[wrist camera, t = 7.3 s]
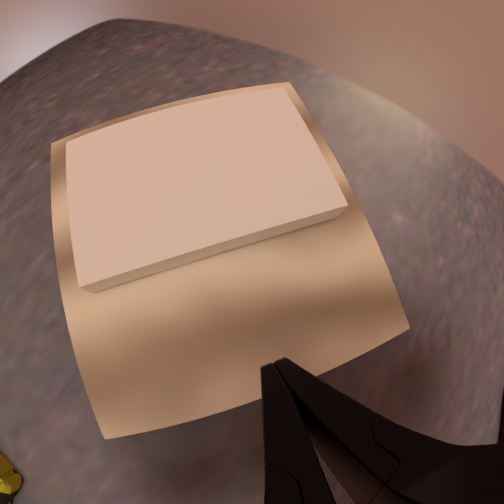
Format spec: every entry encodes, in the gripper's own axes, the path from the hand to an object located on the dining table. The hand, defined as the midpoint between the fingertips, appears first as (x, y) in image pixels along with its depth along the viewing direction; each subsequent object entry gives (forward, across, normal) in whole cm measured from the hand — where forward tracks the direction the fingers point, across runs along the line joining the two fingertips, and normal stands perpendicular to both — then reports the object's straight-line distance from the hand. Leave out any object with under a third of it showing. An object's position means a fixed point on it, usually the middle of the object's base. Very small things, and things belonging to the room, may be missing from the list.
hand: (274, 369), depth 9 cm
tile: (+7, 0, -1) cm, 7 cm away
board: (+10, 0, -1) cm, 10 cm away
